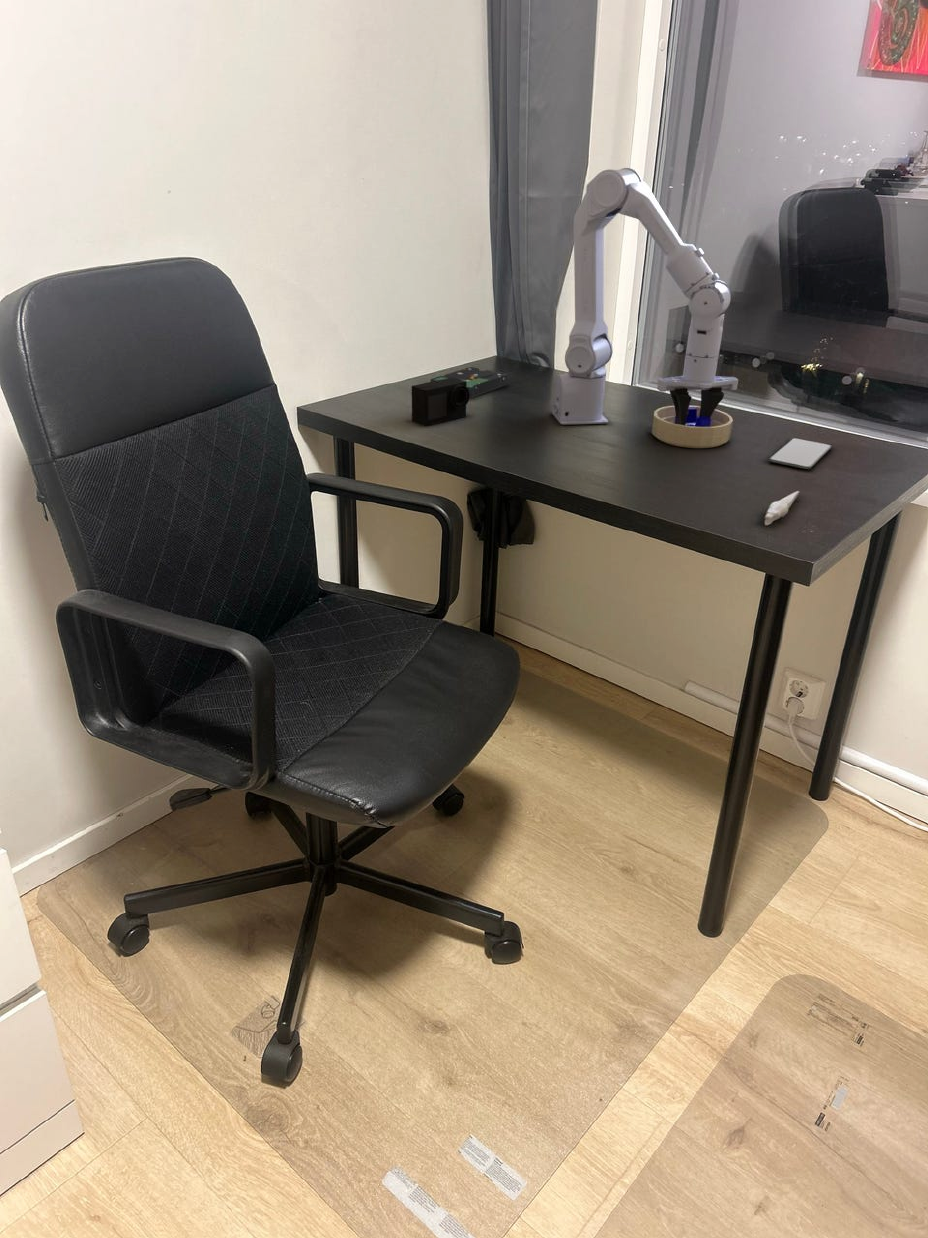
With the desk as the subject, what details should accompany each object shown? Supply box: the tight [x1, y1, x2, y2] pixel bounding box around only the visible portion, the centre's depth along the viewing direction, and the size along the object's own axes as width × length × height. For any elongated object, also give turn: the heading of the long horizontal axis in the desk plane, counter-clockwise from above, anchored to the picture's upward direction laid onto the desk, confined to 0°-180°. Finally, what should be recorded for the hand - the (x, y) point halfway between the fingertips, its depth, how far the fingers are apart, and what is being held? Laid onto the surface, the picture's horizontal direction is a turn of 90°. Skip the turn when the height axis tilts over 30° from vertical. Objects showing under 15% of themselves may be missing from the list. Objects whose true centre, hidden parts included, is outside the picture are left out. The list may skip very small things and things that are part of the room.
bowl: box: [651, 405, 734, 449], centre depth 163 cm, size 14×14×4 cm
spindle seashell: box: [764, 490, 800, 526], centre depth 133 cm, size 15×3×2 cm, turn 144°
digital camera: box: [411, 378, 470, 427], centre depth 169 cm, size 10×5×7 cm, turn 131°
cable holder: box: [674, 407, 711, 427], centre depth 163 cm, size 8×4×4 cm, turn 9°
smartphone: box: [769, 437, 832, 470], centre depth 156 cm, size 7×1×15 cm
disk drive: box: [430, 366, 509, 399], centre depth 190 cm, size 10×3×15 cm
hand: (691, 428), depth 163 cm, fingers closed on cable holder, 3 cm apart
